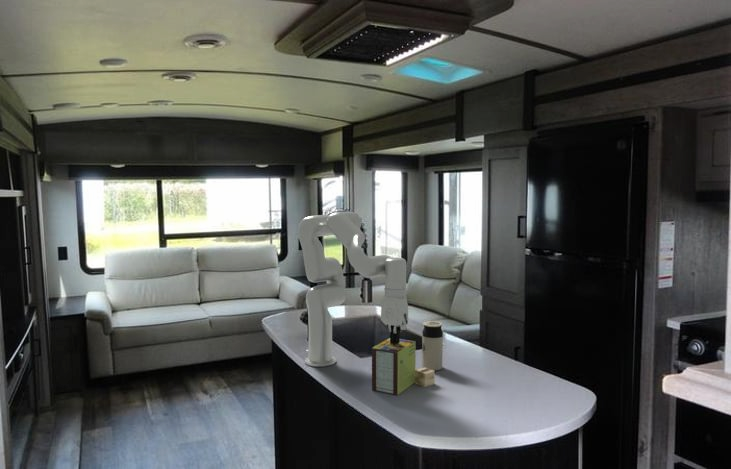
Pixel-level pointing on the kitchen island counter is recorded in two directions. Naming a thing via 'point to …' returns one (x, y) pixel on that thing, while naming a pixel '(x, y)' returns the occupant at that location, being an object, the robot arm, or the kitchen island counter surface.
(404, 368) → the protein box
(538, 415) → the kitchen island counter surface
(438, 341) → the travel mug
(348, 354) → the kitchen island counter surface
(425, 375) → the slotted oak block
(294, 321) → the kitchen island counter surface
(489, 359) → the kitchen island counter surface
